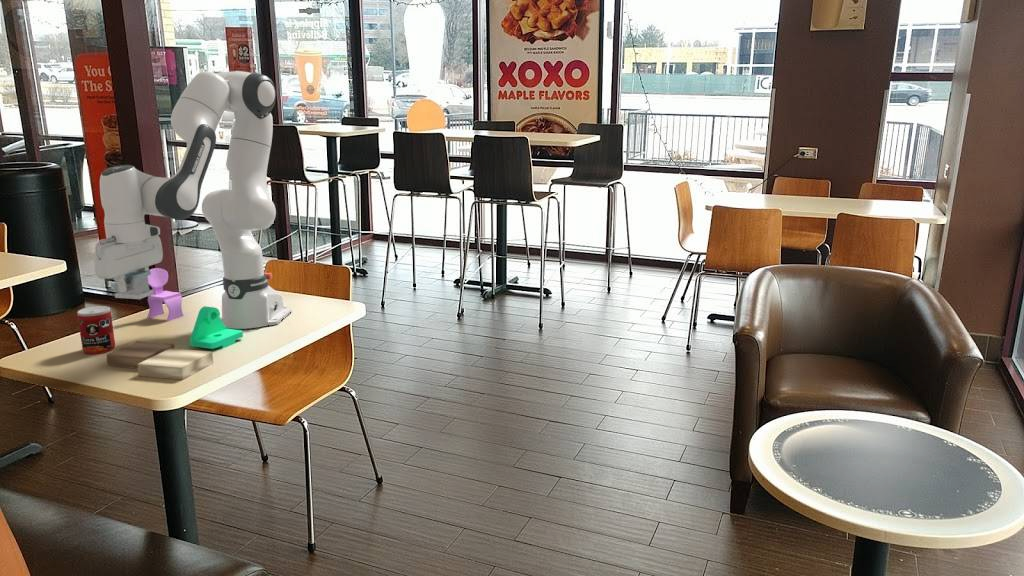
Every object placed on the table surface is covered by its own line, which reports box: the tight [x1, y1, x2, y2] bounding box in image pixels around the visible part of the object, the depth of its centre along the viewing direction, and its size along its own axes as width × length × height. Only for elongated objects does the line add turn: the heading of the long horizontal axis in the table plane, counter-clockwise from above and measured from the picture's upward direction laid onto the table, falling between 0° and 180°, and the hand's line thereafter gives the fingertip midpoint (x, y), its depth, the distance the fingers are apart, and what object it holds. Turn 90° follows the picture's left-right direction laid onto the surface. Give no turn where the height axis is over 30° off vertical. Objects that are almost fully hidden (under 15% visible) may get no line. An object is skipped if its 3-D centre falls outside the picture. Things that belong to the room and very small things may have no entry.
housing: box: [114, 270, 153, 300], centre depth 190 cm, size 5×7×6 cm
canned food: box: [76, 305, 116, 355], centre depth 202 cm, size 8×8×11 cm
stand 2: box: [137, 348, 214, 381], centre depth 188 cm, size 12×12×3 cm
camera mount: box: [189, 305, 244, 350], centre depth 207 cm, size 12×8×10 cm, turn 157°
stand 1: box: [105, 340, 175, 369], centre depth 195 cm, size 11×11×3 cm
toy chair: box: [146, 267, 184, 322], centre depth 232 cm, size 8×9×15 cm
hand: (133, 288), depth 191 cm, fingers closed on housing, 5 cm apart
